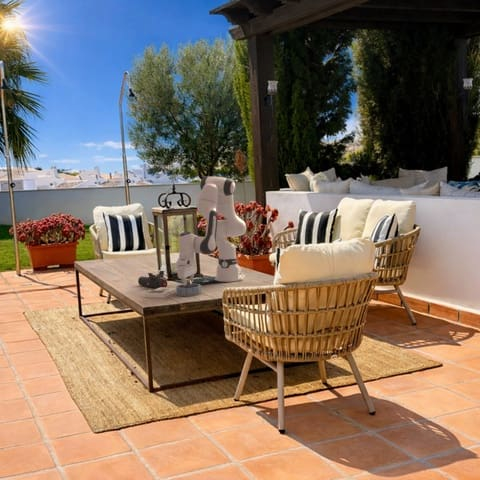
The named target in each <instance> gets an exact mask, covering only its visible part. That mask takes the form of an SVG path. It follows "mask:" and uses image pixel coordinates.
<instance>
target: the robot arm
mask: <svg viewBox="0 0 480 480" xmlns="http://www.w3.org/2000/svg"><path fill="white" fill-rule="evenodd" d="M199 187H200V194H199V197H198V201H197V207H196V208H197V209H196V210H197V213H199V215H201V216H202V217H203V218H204V219H205V220H206V226H205V236H199V235H196V234H194V233H193V232H192V231H184V232H181V233H180V234H179V235H178V240H177V241H178V243H177V244H178V250H179V254H178V259H177V260H176V266H177V267H176V271H177V278H178V279H179V280H181V282H182V284H183V285H184V286H185V285H187V282H186V280H187V278H188V277H189V279H188V280H191V281H192V283H193V282H194V278H195V277H194V276H195V274H197V272H198V269H197V263H196V261H195V260H196V259H195V253H196V254H197V253H198V254H203V255H207V256H209V255H210V256H211V255H212V254H213V253H215V250H216V249H217V250H218V260H217V263H218V265H217V266H216V277H215V278H214V281H217V282H223V283H224V282H228V283H230V282H236V281H237V282H238V281H243V280H244V278H245V276H246V275H245V274H242V269H241V267H240V265H239V264H238V259H239V258H238V257H237V251H236V250H237V249H236V245H235V244H234V243H232V242H230V241H228V240H227V239H226V238H232V237H235V238H236V237H241V236H243V235H245V233H246V231H247V223H246V222H245V221H244V220H243V219H241V218H240V217H239V216H238V214H237V213H236V211H235V210H236V209H235V205H234V203H235V202H234V200H235V199H234V193H235V192H236V183H235V181H234V179H232V178H227V177H223V176H210V175H207V176H203V177H202V179H201V180H200V185H199ZM218 215H219V216H221V217H224V219H219V218H218V217H219V216H218Z"/></svg>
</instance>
